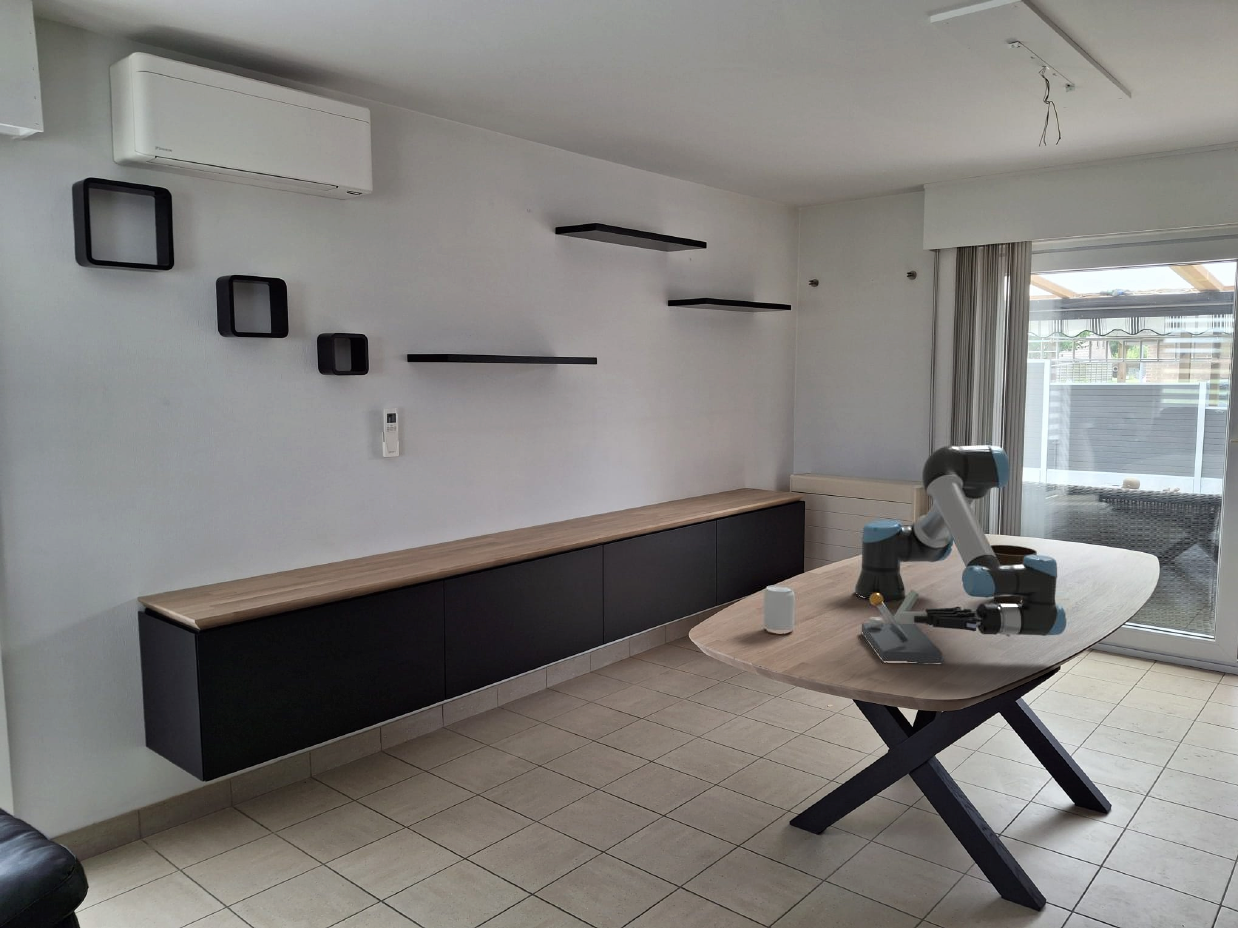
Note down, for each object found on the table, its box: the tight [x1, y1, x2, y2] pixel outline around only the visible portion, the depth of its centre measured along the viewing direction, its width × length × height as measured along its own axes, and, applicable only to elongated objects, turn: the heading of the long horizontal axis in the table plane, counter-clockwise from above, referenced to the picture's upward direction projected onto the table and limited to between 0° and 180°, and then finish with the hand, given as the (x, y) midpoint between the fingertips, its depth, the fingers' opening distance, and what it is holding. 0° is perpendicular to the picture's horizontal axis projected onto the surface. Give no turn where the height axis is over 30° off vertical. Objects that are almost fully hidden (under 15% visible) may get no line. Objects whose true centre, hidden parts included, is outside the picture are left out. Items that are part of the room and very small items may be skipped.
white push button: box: [868, 616, 884, 627], centre depth 231 cm, size 4×4×2 cm
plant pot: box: [990, 544, 1038, 604], centre depth 269 cm, size 15×15×16 cm
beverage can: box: [763, 584, 796, 630], centre depth 238 cm, size 8×8×12 cm
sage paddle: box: [893, 588, 920, 626], centre depth 230 cm, size 4×1×10 cm, turn 177°
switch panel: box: [861, 622, 943, 664], centre depth 224 cm, size 24×14×3 cm, turn 177°
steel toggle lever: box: [869, 593, 908, 643], centre depth 216 cm, size 3×3×14 cm
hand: (899, 617), depth 216 cm, fingers closed
